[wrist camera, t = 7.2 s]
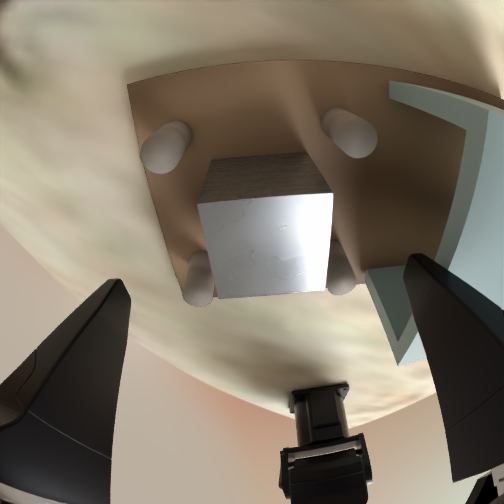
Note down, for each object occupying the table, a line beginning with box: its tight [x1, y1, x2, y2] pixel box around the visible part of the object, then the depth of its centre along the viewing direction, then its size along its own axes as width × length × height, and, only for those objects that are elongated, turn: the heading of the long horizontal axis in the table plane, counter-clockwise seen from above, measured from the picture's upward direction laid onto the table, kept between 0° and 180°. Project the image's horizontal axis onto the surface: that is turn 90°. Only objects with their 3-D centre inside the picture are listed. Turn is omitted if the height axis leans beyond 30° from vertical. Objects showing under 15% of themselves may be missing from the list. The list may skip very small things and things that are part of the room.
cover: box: [364, 81, 504, 366], centre depth 9 cm, size 11×9×8 cm
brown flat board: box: [127, 60, 504, 307], centre depth 12 cm, size 12×20×4 cm, turn 95°
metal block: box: [197, 152, 333, 299], centre depth 11 cm, size 4×4×4 cm
